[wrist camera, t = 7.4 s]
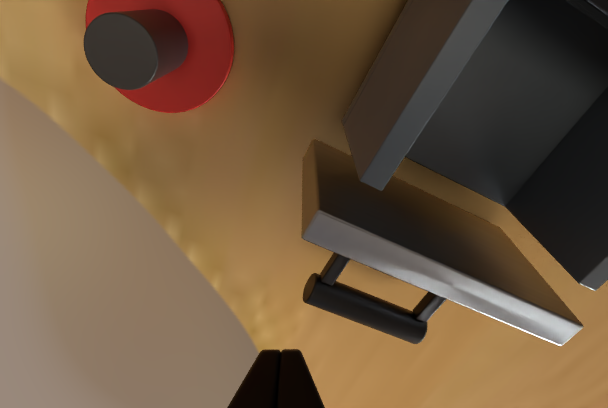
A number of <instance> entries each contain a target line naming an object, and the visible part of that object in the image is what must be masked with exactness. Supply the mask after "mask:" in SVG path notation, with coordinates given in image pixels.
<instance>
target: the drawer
mask: <svg viewBox="0 0 608 408" xmlns="http://www.w3.org/2000/svg"><path fill="white" fill-rule="evenodd" d="M342 124H343V127H344V130H345V133H346V137H347V140H348V143H349V147H350V150H351V153H352V156H350V155H348V154H346V153H344V152H342V151H340V150H338V149H335V148H333V147H331V146H329V145H327V144H325V143H323V142H321V141H319V140H317V139H313V140H312V142H311V144H310V145H309V147H308V149H307V151H306V153H305V155H304V157H303V170H302V239H304V240H306V241H308V242H311V243H313V244H316V245H318V246H320V247H323V248H325V249H328V250H330V251H333V252H334V253H333V255H332V257H331V258H330V260H329V261H328V263H327V264H326V266H325V267H324V269H323V270H322V272H321V273H320V275H319V274H317V273H313V274H312V275H311V276H310V277H309V279H308V281H307V283H306V285H305V288H304V292H303V301H304V302H305V303H307V304H310V305H313V306H315V307H318V308H321V309H323V310H326V311H328V312H331V313H334V314H336V315H339V316H342V317H344V318H347V319H350V320H352V321H355V322H358V323H360V324H363V325H366V326H368V327H371V328H374V329H376V330H379V331H381V332H384V333H387V334H389V335H392V336H395V337H397V338H400V339H403V340H405V341H408V342H411V343H413V344H418V343H420V342H421V341H422V340H423V339H424V337H425V335H426V332H427V321H428V319H429V318H430V317H431V316H432V315H433V314H434V313H435V311H436V310H437V309H438V308H439V307H440V306H441V305H442V304H443V302H444V301H445V300H446V299H448V300H450V301H453V302H455V303H458V304H460V305H462V306H465V307H467V308H470V309H472V310H474V311H477V312H479V313H482V314H484V315H486V316H489V317H491V318H494V319H496V320H498V321H501V322H503V323H506V324H508V325H511V326H513V327H515V328H518V329H520V330H523V331H525V332H527V333H530V334H532V335H535V336H537V337H539V338H542V339H544V340H547V341H549V342H551V343H554V344H556V345H559V346H562V345H563V344H565V343H566V342H567V341H568V340H569V339H570V338H572V337H573V336H574V335H575V334H576V333H577V332H578V331H580V330H581V329H582V328H583V325H582V323H581V322H580V321H579V320H578V319H577V317H576V316H575V315H574V314H573V313H572V312H571V310H570V309H569V308H568V307H567V306H566V305H565V303H564V302H563V301H562V300H561V299H560V297H559V296H558V295H557V294H556V293H555V292H554V290H553V289H552V288H551V287H550V286H549V285H548V283H547V282H546V281H545V280H544V279H543V278H542V276H541V275H540V274H539V273H538V272H537V270H536V269H535V268H534V267H533V266H532V265H531V263H530V262H529V261H528V260H527V259H526V258H525V256H524V255H523V254H522V253H521V252H520V250H519V249H518V248H517V247H516V246H515V245H514V243H513V242H512V241H511V240H510V239H509V238H508V236H507V235H506V234H505V233H504V232H503V230H502V229H501V228H500V227H498V226H496V225H493V224H491V223H489V222H487V221H485V220H483V219H481V218H479V217H477V216H475V215H473V214H471V213H469V212H466V211H464V210H462V209H460V208H458V207H456V206H454V205H452V204H450V203H448V202H446V201H444V200H441V199H439V198H437V197H435V196H433V195H431V194H429V193H427V192H425V191H423V190H421V189H419V188H417V187H414V186H412V185H410V184H408V183H406V182H404V181H402V180H400V179H398V178H396V177H394V176H392V175H393V174H394V172H395V171H396V169H397V168H398V166H399V165H400V163H401V162H402V160H403V158H404V157H406V158H408V159H410V160H412V161H414V162H416V163H418V164H420V165H422V166H424V167H426V168H428V169H430V170H432V171H435V172H437V173H439V174H441V175H443V176H445V177H447V178H449V179H451V180H453V181H455V182H457V183H459V184H461V185H463V186H465V187H467V188H469V189H471V190H473V191H475V192H477V193H479V194H481V195H483V196H485V197H487V198H489V199H491V200H493V201H495V202H497V203H499V204H501V205H503V206H505V207H506V208H507V209H508V210H509V211H510V212H511V213H512V214H513V215H514V216H515V218H516V219H517V220H518V221H519V222H520V223H521V224H522V225H523V226H524V227H525V228H526V229H527V230H528V231H529V232H530V233H531V234H532V235H533V236H534V237H535V238H536V239H537V240H538V241H539V243H540V244H541V245H542V246H543V247H544V248H545V249H546V250H547V251H548V252H549V253H550V254H551V255H552V256H553V257H554V258H555V259H556V260H557V261H558V262H559V263H560V264H561V265H562V266H563V268H564V269H565V270H566V271H567V272H568V273H569V274H570V275H571V276H572V277H573V278H574V279H575V280H576V281H577V282H578V283H579V284H581V285H583V286H586V287H588V288H590V289H592V290H594V291H596V290H597V289H598V288H599V287H600V286H601V285H603V284H604V283H605V282H606V281H607V280H608V29H606V28H605V27H603V26H602V25H600V24H599V23H597V22H596V21H595V20H593V19H592V18H590V17H589V16H587V15H586V14H584V13H583V12H581V11H580V10H578V9H577V8H575V7H574V6H572V5H571V4H569V3H568V2H566V1H565V0H408V1H407V3H406V5H405V7H404V8H403V10H402V12H401V14H400V16H399V17H398V19H397V21H396V23H395V25H394V27H393V28H392V30H391V32H390V34H389V36H388V37H387V39H386V41H385V43H384V45H383V46H382V48H381V50H380V52H379V54H378V55H377V57H376V59H375V61H374V63H373V65H372V66H371V68H370V70H369V72H368V74H367V75H366V77H365V79H364V81H363V83H362V84H361V86H360V88H359V90H358V92H357V94H356V95H355V97H354V99H353V101H352V103H351V104H350V106H349V108H348V110H347V112H346V113H345V115H344V117H343V119H342ZM350 259H352V260H354V261H357V262H359V263H361V264H364V265H366V266H369V267H371V268H373V269H376V270H378V271H381V272H383V273H385V274H388V275H390V276H393V277H395V278H397V279H400V280H402V281H405V282H407V283H409V284H412V285H414V286H417V287H419V288H422V289H424V290H426V291H429V292H428V293H427V294H426V295H425V296H424V298H423V299H422V300H421V301H420V302H419V303H418V305H417V306H416V307H415V308H414V309H413V312H412V311H410V310H407V309H405V308H402V307H400V306H397V305H395V304H392V303H390V302H387V301H385V300H382V299H380V298H377V297H375V296H372V295H370V294H367V293H364V292H362V291H359V290H357V289H354V288H352V287H349V286H347V285H344V284H342V283H339V282H337V281H336V279H337V278H338V276H339V275H340V274H341V272H342V271H343V269H344V268H345V266H346V265H347V263H348V262H349V260H350Z"/></svg>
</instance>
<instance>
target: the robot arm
mask: <svg viewBox="0 0 608 408" xmlns="http://www.w3.org/2000/svg"><path fill="white" fill-rule="evenodd" d="M228 408H325V407H324V405H323V402H322V400H321V398H320V395H319V393H318V391H317V388H316V386H315V383H314V381H313V379H312V376H311V374H310V372H309V369H308V367H307V365H306V362H305V360H304V357H303V355H302V353H301V351H300V350H298V349H284V350H282V352H280V351H279V350H262V351H261V352H260V353H259V355H258V357H257V358H256V360H255V362H254V363H253V365H252V367H251V368H250V370H249V372H248V374H247V375H246V377H245V379H244V380H243V382H242V384H241V385H240V387H239V389H238V391H237V392H236V394H235V396H234V397H233V399H232V401H231V402H230V404H229V406H228Z"/></svg>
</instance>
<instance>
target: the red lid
mask: <svg viewBox="0 0 608 408" xmlns="http://www.w3.org/2000/svg"><path fill="white" fill-rule="evenodd" d="M84 51H85V55H86V58H87V60H88V62H89V64H90V66H91V68H92V69H93V70H94V72H95V73H96V74H97V75H98V76H99V77H100V78H101V79H102V80H103V81H105V82H106V83H108V84H109V85H111V86H113V87H115V88H116V89H117V90H118V91H119V92H120V93H121V94H123V95H124V96H125V97H127V98H128V99H130V100H131V101H133V102H135V103H137V104H138V105H140V106H143V107H145V108H148V109H151V110H155V111H158V112H166V113H178V112H185V111H189V110H192V109H195V108H197V107H199V106H201V105H203V104H204V103H206V102H207V101H209V100H210V99H211V98H212V97H213V96H214V95H215V94H216V93H217V92H218V91H219V90H220V89H221V87H222V86H223V84H224V83H225V81H226V79H227V77H228V75H229V73H230V69H231V66H232V62H233V56H234V38H233V32H232V27H231V23H230V20H229V17H228V14H227V12H226V10H225V8H224V5H223V4H222V2H221V0H88V4H87V10H86V32H85V35H84Z"/></svg>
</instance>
